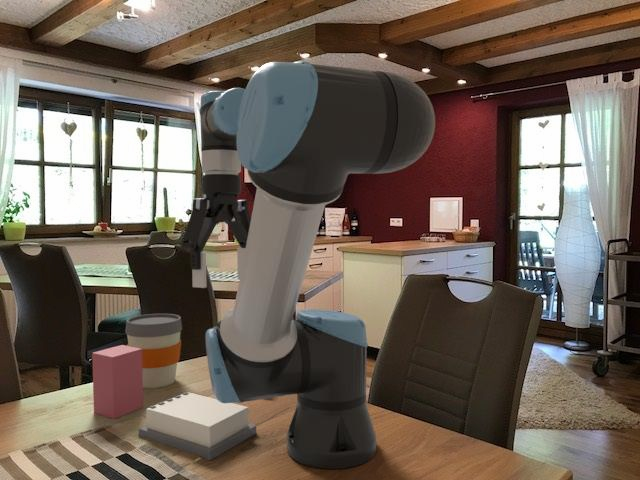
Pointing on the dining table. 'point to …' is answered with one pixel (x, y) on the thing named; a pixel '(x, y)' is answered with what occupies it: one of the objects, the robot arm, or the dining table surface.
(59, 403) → the dining table surface
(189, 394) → the white notepad
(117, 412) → the pink block
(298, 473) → the dining table surface
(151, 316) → the reusable coffee cup
